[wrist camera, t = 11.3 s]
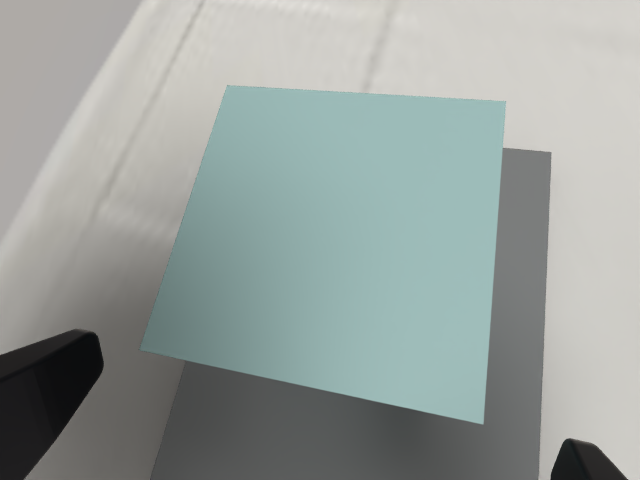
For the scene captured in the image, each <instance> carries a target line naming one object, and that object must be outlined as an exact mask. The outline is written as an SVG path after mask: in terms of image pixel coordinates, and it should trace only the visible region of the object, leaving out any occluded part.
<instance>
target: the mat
mask: <svg viewBox="0 0 640 480" xmlns="http://www.w3.org/2000/svg"><path fill="white" fill-rule="evenodd" d="M550 175H551V152H543V151H532V150H521V149H510V148H503V150H502V165H501V179H500V193H499V208H498V222H497V236H496V251H495V265H494V279H493V294H492V308H491V322H490V337H489V351H488V365H487V379H486V394H485V408H484V422H483V424H478V423H474V422H469V421H465V420H460V419H455V418H451V417H446V416H441V415H437V414H432V413H427V412H423V411H418V410H414V409H409V408H404V407H400V406H395V405H390V404H386V403H381V402H377V401H372V400H367V399H363V398H358V397H353V396H349V395H344V394H339V393H335V392H330V391H326V390H321V389H316V388H312V387H307V386H302V385H298V384H293V383H288V382H284V381H279V380H275V379H270V378H265V377H261V376H256V375H251V374H247V373H242V372H238V371H233V370H228V369H224V368H219V367H214V366H210V365H205V364H200V363H196V362H191V361H187V360H186V363H185V367H184V370H183V373H182V376H181V380H180V383H179V386H178V390H177V393H176V396H175V399H174V403H173V406H172V409H171V412H170V416H169V419H168V422H167V426H166V429H165V432H164V435H163V439H162V442H161V445H160V449H159V452H158V455H157V458H156V462H155V465H154V468H153V471H152V475H151V478H150V480H538V476H539V451H540V426H541V401H542V376H543V351H544V326H545V300H546V275H547V250H548V225H549V200H550Z"/></svg>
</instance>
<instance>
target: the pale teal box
mask: <svg viewBox="0 0 640 480" xmlns="http://www.w3.org/2000/svg"><path fill="white" fill-rule="evenodd" d="M505 107H506V101H491V100H474V99H456V98H439V97H421V96H404V95H387V94H369V93H352V92H334V91H317V90H300V89H282V88H265V87H247V86H230V85H227V87H226V90H225V93H224V96H223V99H222V102H221V105H220V108H219V111H218V114H217V117H216V120H215V123H214V126H213V129H212V132H211V135H210V138H209V141H208V144H207V147H206V150H205V153H204V156H203V159H202V162H201V165H200V168H199V171H198V174H197V177H196V180H195V183H194V186H193V189H192V192H191V195H190V198H189V201H188V204H187V207H186V210H185V213H184V216H183V219H182V222H181V225H180V228H179V231H178V234H177V237H176V240H175V243H174V246H173V249H172V252H171V255H170V258H169V261H168V264H167V267H166V270H165V273H164V276H163V279H162V282H161V285H160V288H159V291H158V294H157V297H156V300H155V303H154V306H153V309H152V312H151V315H150V318H149V321H148V324H147V328H146V331H145V334H144V337H143V340H142V343H141V346H140V349H139V350H140V351H145V352H149V353H154V354H159V355H163V356H168V357H173V358H177V359H182V360H187V361H191V362H196V363H200V364H205V365H210V366H214V367H219V368H224V369H228V370H233V371H238V372H242V373H247V374H251V375H256V376H261V377H265V378H270V379H275V380H279V381H284V382H288V383H293V384H298V385H302V386H307V387H312V388H316V389H321V390H326V391H330V392H335V393H339V394H344V395H349V396H353V397H358V398H363V399H367V400H372V401H377V402H381V403H386V404H390V405H395V406H400V407H404V408H409V409H414V410H418V411H423V412H427V413H432V414H437V415H441V416H446V417H451V418H455V419H460V420H465V421H469V422H474V423H478V424H483V422H484V408H485V394H486V379H487V365H488V351H489V337H490V322H491V308H492V294H493V279H494V265H495V251H496V236H497V222H498V208H499V193H500V179H501V165H502V150H503V136H504V122H505Z"/></svg>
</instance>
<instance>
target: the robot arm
mask: <svg viewBox="0 0 640 480" xmlns="http://www.w3.org/2000/svg"><path fill="white" fill-rule="evenodd" d="M103 367H104V361H103V357H102V352H101V347H100V343H99V338H98V336H97V335H96V333H94V332H91V331H87V330H82V329H74V330H71V331H68V332H65V333H62V334H59V335H57V336H54V337H51V338H48V339H45V340H42V341H39V342H37V343H34V344H31V345H28V346H25V347H22V348H19V349H17V350H14V351H11V352H8V353H5V354H2V355H0V480H24V479H25V478H26V476H27V475H28V474H29V473H30V471H31V470H32V469H33V468H34V466H35V465H36V464H37V463H38V462H39V460H40V459H41V458H42V457H43V455H44V454H45V453H46V452H47V450H48V449H49V448H50V447H51V445H52V444H53V443H54V442H55V440H56V439H57V437H58V436H59V435H60V433H61V432H62V430H63V429H64V428H65V426H66V425H67V423H68V422H69V420H70V419H71V417H72V416H73V414H74V413H75V411H76V410H77V409H78V407H79V406H80V404H81V403H82V401H83V400H84V398H85V397H86V395H87V394H88V392H89V391H90V390H91V388H92V387H93V385H94V384H95V382H96V381H97V379H98V378H99V376H100V375H101V373H102V370H103ZM551 480H628V479H627V478H626V477H625V476H624V475H623V474H622V473H621V471H620V470H619V469H618V468H617V467H616V466H615V465H614V464H613V463H612V462H611V461H610V460H609V459H608V457H607V456H606V455H605V454H604V453H603V452H602V451H601V450H600V449H599V448H598V447H597V446H596V445H594V444H592V443H589V442H584V441H580V440H575V439H571V438H570V439H566V440H565V441H564V442H563V444H562V446H561V449H560V451H559V454H558V456H557V459H556V461H555V464H554V467H553V469H552V472H551Z"/></svg>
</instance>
